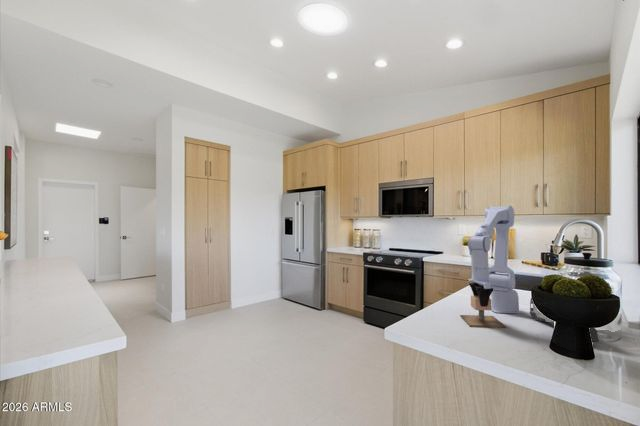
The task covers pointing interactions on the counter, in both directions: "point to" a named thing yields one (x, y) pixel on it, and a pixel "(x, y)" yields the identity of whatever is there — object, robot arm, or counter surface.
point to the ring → (476, 303)
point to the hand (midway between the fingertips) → (481, 304)
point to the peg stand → (482, 320)
